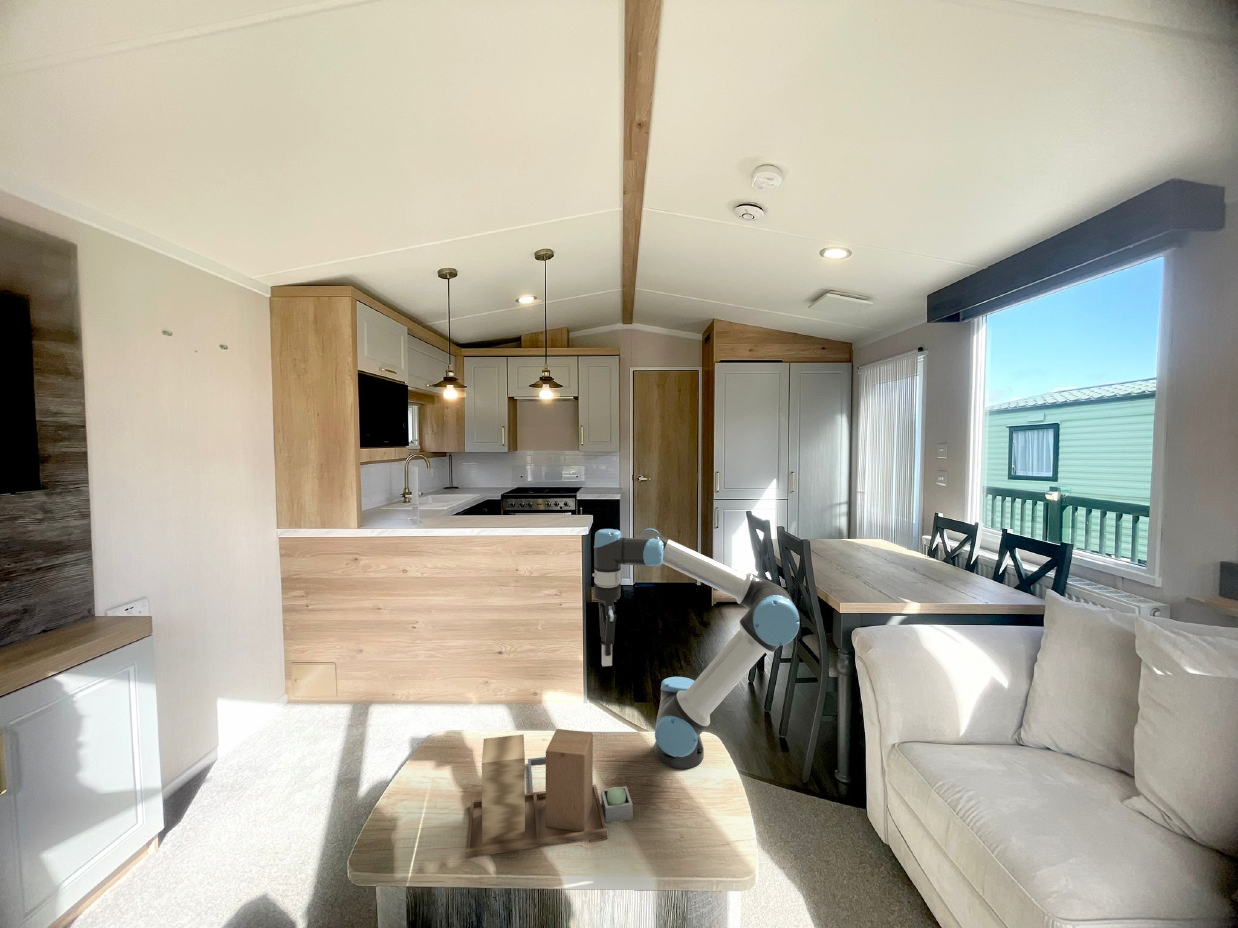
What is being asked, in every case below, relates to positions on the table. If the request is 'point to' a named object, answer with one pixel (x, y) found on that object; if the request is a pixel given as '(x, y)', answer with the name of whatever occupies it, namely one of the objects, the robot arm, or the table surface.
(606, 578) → the robot arm
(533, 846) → the divided wooden tray
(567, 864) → the table surface
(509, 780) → the seated billet
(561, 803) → the wooden block
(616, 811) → the button housing
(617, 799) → the button
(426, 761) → the table surface
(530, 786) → the tote frame
